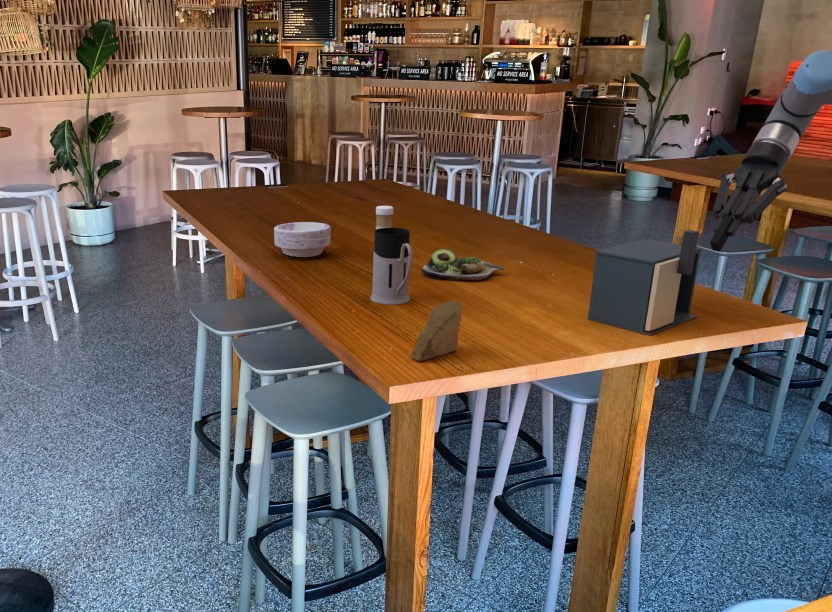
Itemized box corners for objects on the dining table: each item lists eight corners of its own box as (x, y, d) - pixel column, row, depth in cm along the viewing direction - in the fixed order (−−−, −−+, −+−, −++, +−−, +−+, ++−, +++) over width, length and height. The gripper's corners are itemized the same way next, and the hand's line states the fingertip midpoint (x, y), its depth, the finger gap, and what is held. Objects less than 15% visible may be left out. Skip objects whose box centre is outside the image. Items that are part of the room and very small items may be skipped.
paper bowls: (282, 248, 223) (281, 219, 220) (335, 250, 220) (335, 221, 217) (268, 260, 209) (267, 230, 206) (324, 262, 206) (324, 232, 203)
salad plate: (508, 268, 200) (510, 250, 198) (497, 285, 185) (499, 265, 183) (433, 262, 206) (434, 244, 205) (416, 278, 191) (417, 259, 189)
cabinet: (696, 317, 161) (709, 249, 155) (650, 335, 150) (662, 263, 145) (635, 303, 170) (645, 238, 165) (587, 319, 160) (596, 250, 155)
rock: (419, 356, 133) (474, 343, 135) (405, 309, 135) (459, 297, 137) (405, 373, 144) (456, 361, 145) (392, 329, 145) (443, 318, 147)
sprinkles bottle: (394, 256, 213) (396, 206, 208) (387, 259, 209) (388, 208, 204) (379, 254, 215) (380, 204, 210) (371, 258, 211) (372, 207, 206)
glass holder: (400, 292, 179) (402, 225, 174) (427, 309, 167) (431, 238, 161) (364, 295, 177) (365, 228, 171) (389, 313, 164) (391, 241, 159)
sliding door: (683, 324, 154) (699, 231, 147) (659, 333, 149) (675, 237, 142) (668, 321, 156) (684, 228, 149) (644, 330, 151) (659, 234, 144)
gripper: (807, 168, 156) (752, 264, 153) (740, 162, 166) (687, 252, 162) (802, 142, 151) (745, 240, 148) (733, 137, 161) (678, 230, 157)
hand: (714, 246), depth 155 cm, fingers closed
